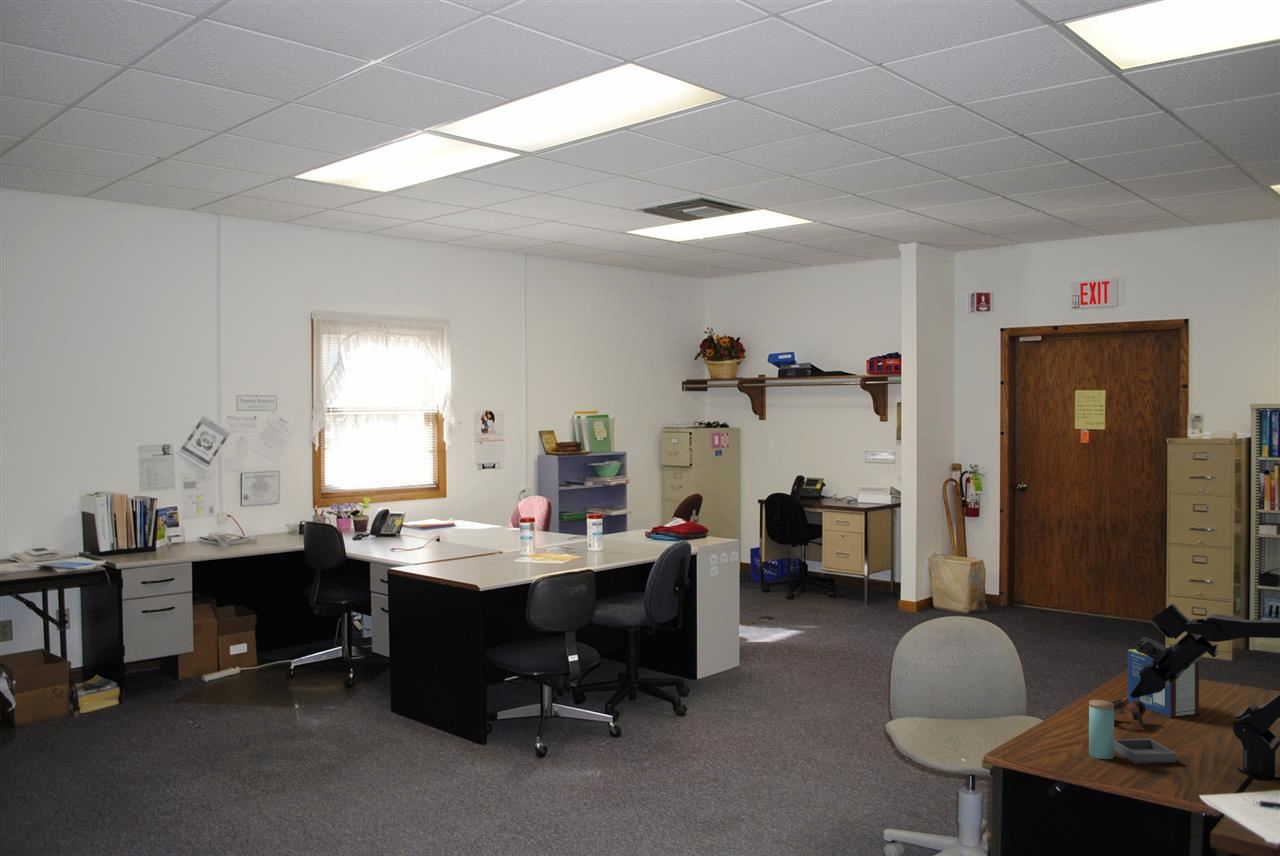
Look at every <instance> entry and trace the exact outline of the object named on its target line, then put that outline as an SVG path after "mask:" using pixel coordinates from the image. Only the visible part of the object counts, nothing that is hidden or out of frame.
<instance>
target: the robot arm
mask: <svg viewBox="0 0 1280 856" xmlns="http://www.w3.org/2000/svg"><path fill="white" fill-rule="evenodd" d="M1149 622H1150V623H1151V624H1153V626H1154V627H1155V628H1157V629H1158V630H1159V631H1160V632H1161V633H1162V634H1163V635H1164V636H1165V638H1167V639H1171V640H1172V639H1174V640H1177V639H1179V637H1180V636H1182V635H1183V634H1184V633H1185V632H1186V634H1185V635H1184V636H1183V637H1182V638H1180V639H1179V640H1178V641H1176V642H1175V643H1174V644H1173V645H1170V646H1169V647H1166V646H1165V645H1164V644H1162V643H1160V642H1158V641H1156V640H1154V639H1152V638H1150V637H1147V636H1143V637H1141V638H1140V640H1139V641H1138V643H1137V645H1136V648H1135V649H1136V651H1138V652H1139V653H1143V654H1145V655H1147V656H1149V657H1151V658H1153V659H1154V660H1153V661H1152V662H1153V665H1150V664H1148V665H1147V666H1145V667H1144V668H1143V669H1142V670H1140V671H1139V675H1140V682H1139V683H1138V685H1137V686H1136V687H1135V689H1134V690H1133V692H1132V693H1131V694H1130V696H1131V697H1132V698H1138V697H1142V696H1145V695H1149V694H1153V693H1159V692H1161V691H1162V690H1163V689H1165V688H1166V687H1167V686H1168V685H1169V682H1172V681H1174V680H1175V679H1177V678H1178V677H1179V676H1181V675H1182V674H1183V673H1184V671H1185V670H1186V669H1187V668H1189V667H1190V666H1191V665H1192V664H1193V663H1195V662H1196V661H1197V660H1198V659H1199V660H1200V659H1201V658H1203V656H1204V655H1206V654H1209V655H1210V656H1211V657H1212V658H1216V657H1217V656H1218V655H1219V644H1218V643H1219V642H1227V641H1232V640H1239V639H1244V638H1262V639H1265V638H1266V639H1280V619H1244V618H1240V617H1236V616H1233V615H1232V616H1231V615H1225V614H1220V613H1219V614H1218V613H1214V614H1210V615H1208V616H1206V617H1205V618H1192V619H1191V620H1190V619H1189V618H1188V617H1187V616H1186V615H1185V614H1184V613H1182V611H1180V609H1179V608H1178V607H1177V606H1176V605H1175V604H1174V603H1171V604H1169V605H1168V606H1167V607H1166V608H1165V609H1163V610H1162V611H1160V612H1158V613H1157V614H1156V615H1155V616H1154V617H1152V618H1151V619H1150V620H1149ZM1214 643H1215V644H1214ZM1216 643H1217V644H1216ZM1279 718H1280V693H1279V694H1276V695H1275V696H1274V697H1272V699H1270V700H1269V701H1267V702H1266V703H1263V704H1261V705H1259V706H1258V704H1256V702H1255V701H1253V702H1252V703H1251V704H1250V705H1249V706H1248V707H1247V708H1245V709H1241V710H1240V711H1239V712H1238V713H1237V715H1236V716H1235V717H1234V719H1236V720H1235V721H1234V722H1233V724H1232V732H1233V734H1234V736H1235V737H1236V738H1237V739H1238V740H1239V741H1240V743H1241V745H1242V748H1243V750H1242V766H1237V767H1236V770H1237V771H1239V772H1241V773H1243V774H1245V775H1247V776H1248V777H1250V778H1252V779H1254V780H1277V779H1276V778H1280V774H1278V773H1276V751H1275V749H1274V748H1273V747H1274V746H1275V745H1276V742H1277V741H1278V737H1277V735H1275V733H1273V732H1272V731H1271V730H1270V728H1271V727H1272V726H1273V725H1274V724H1275V722H1276V721H1277V720H1278V719H1279Z"/></svg>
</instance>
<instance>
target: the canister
mask: <svg viewBox="0 0 1280 856" xmlns="http://www.w3.org/2000/svg"><path fill="white" fill-rule="evenodd" d="M1112 702H1113V701H1107V700H1103V699H1091V700H1089V701H1088V756H1089V755H1090V757H1091V756H1092V757H1091V758H1093V757H1095V758H1101V759H1111V758H1115V752H1114V740H1115V711H1114V704H1113V703H1112ZM1095 758H1094V759H1095Z"/></svg>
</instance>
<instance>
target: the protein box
mask: <svg viewBox="0 0 1280 856" xmlns="http://www.w3.org/2000/svg"><path fill="white" fill-rule="evenodd" d="M1153 660H1154V659H1153V658H1151V657H1149V656H1147V655H1145V654H1143V653H1139V652H1138V651H1136V648H1135V649H1128V650H1127V699H1128V701H1129V702H1133V701H1137V700H1139V701H1142V702H1143V703H1144V705H1145V707H1146V709H1148V710H1147V711H1149V710H1152V711H1154V712H1153V713H1155V712H1157V713H1156V714H1158V713H1160V714H1162V715H1161V716H1163V715H1165V716H1164V717H1166V716H1169V717H1174V718H1177V717H1176V716H1182V717H1186V716H1185V715H1190V716H1196V714H1198V715H1200V703H1199V702H1200V659H1198V660H1197V661H1196V662H1195V663H1193V664H1192V665H1191V666H1190V667H1189V668H1187V669H1186V670H1185V671H1184V673H1183V674H1182V675H1181V676H1179V677H1178V678H1177V679H1175V680H1174V681H1172V682H1169V685H1168V686H1167V687H1166V688H1165V689H1163V690H1162V691H1161V692H1159V693H1153V694H1149V695H1145V696H1142V697H1138V698H1132V697H1131V696H1130V694H1131V693H1132V692H1133V690H1134V689H1135V687H1136V686H1137V685H1138V683H1139V682H1140V675H1139V671H1140V670H1142V669H1143V668H1144V667H1145V666H1147V665H1148V664H1150V665H1153V662H1152V661H1153ZM1152 711H1151V712H1152ZM1160 714H1159V715H1160ZM1169 717H1168V718H1169Z"/></svg>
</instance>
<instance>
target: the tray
mask: <svg viewBox="0 0 1280 856" xmlns="http://www.w3.org/2000/svg"><path fill="white" fill-rule="evenodd" d="M1114 751H1115V752H1114V753H1116V752H1117V753H1119V754H1120V755H1119V754H1118V755H1119V756H1121V755H1122V756H1123V757H1122V756H1121V757H1122V758H1124V757H1125V758H1127V759H1128V760H1130V761H1131V763H1132V762H1133V763H1135V764H1141V765H1150V764H1149V763H1176V764H1177V753H1176V752H1175V751H1174V750H1171V749H1170V748H1167V747H1166V746H1164V745H1163V744H1161V743H1159V742H1158V741H1156V740H1154V739H1151V738H1139V739H1138V738H1137V739H1135V738H1134V739H1114ZM1117 753H1116V754H1117ZM1125 758H1124V759H1125ZM1127 759H1126V760H1127ZM1128 760H1127V761H1128ZM1130 761H1129V762H1130ZM1133 763H1132V764H1133ZM1145 763H1146V764H1145ZM1135 764H1134V765H1135Z"/></svg>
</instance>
